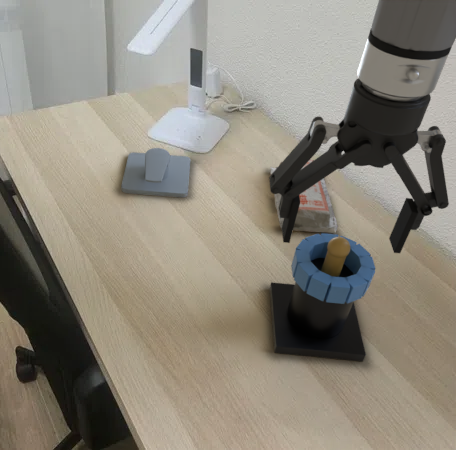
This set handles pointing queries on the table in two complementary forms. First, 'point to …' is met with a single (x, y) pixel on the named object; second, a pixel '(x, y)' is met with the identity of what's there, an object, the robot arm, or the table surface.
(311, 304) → the tape holder
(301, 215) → the packaged product
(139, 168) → the shower valve
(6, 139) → the table surface
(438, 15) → the robot arm
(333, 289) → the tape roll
